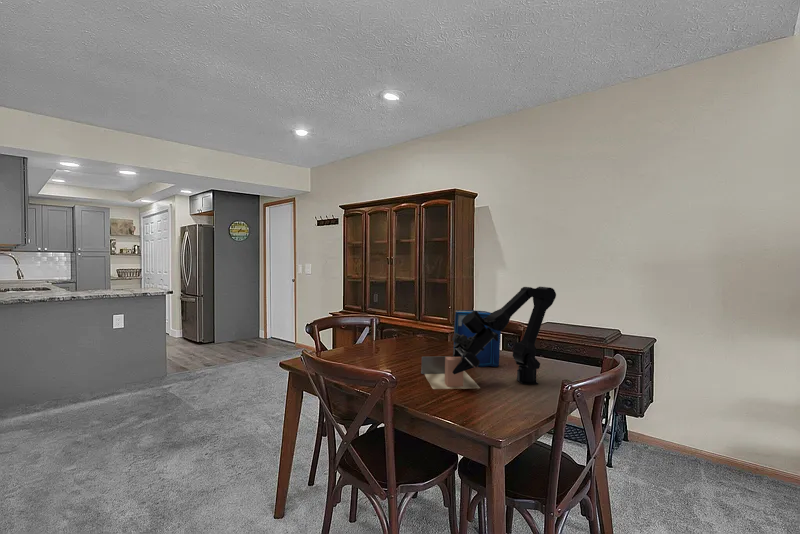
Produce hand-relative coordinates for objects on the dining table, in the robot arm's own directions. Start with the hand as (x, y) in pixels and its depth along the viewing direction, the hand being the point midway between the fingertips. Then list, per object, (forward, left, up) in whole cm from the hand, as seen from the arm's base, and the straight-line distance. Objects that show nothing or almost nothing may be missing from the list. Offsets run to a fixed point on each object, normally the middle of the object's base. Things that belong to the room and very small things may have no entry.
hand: (450, 369), depth 161 cm
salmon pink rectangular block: (-1, 0, -6) cm, 6 cm away
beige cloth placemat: (-1, -7, -7) cm, 10 cm away
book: (-19, -32, -7) cm, 38 cm away
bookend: (+3, -15, -6) cm, 17 cm away
